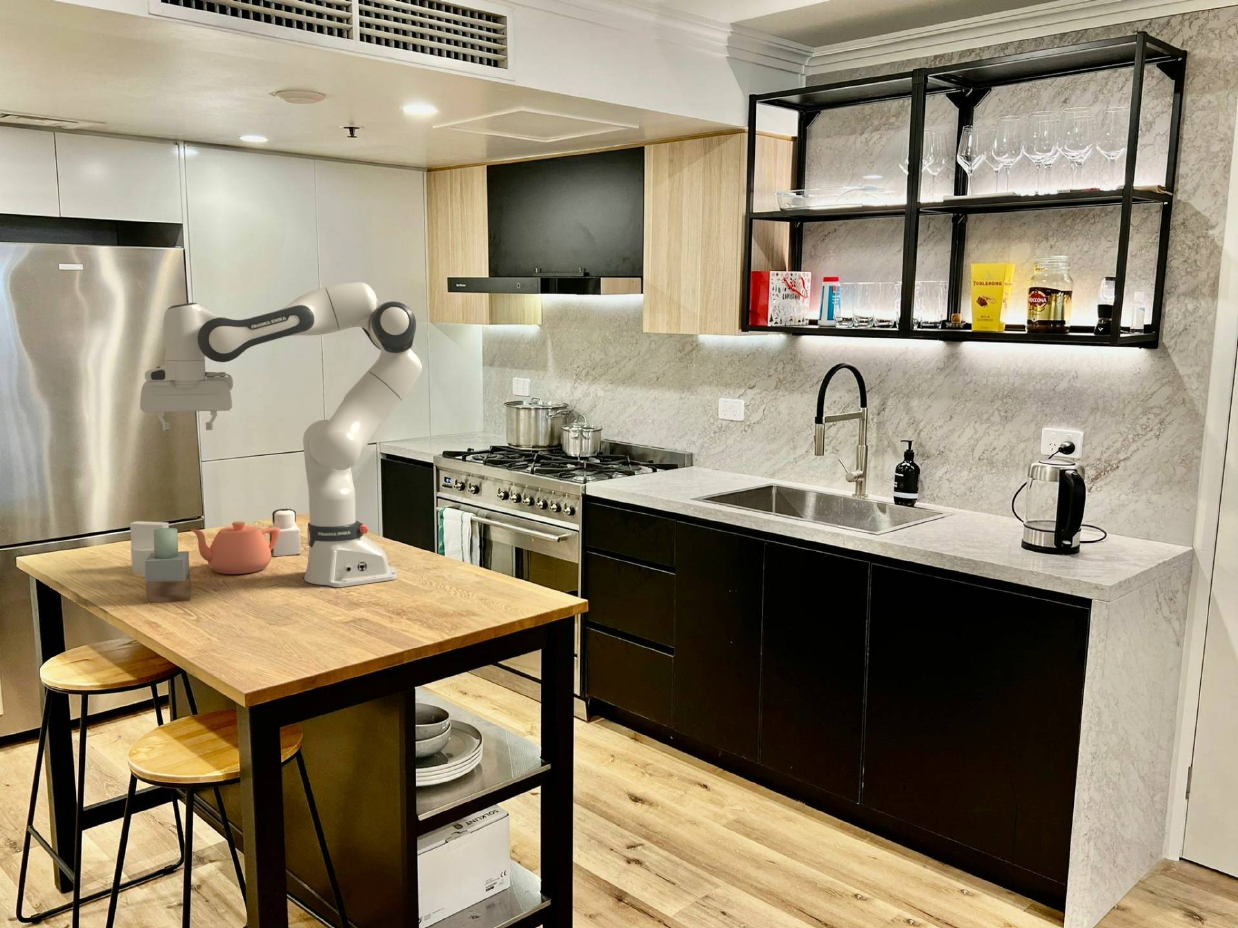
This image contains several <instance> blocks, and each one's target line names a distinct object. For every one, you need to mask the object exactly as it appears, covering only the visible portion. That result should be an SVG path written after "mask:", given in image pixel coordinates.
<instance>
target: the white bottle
mask: <svg viewBox="0 0 1238 928" xmlns="http://www.w3.org/2000/svg"><path fill="white" fill-rule="evenodd" d="M271 515H272V525H270V526H269V527H268V528H271V527H277V528H279V530H280V535H279V538H278V540H277V542H276V544H275V545H274V547H273V549H272V550H271V556H272V557H273V556H278V557H288V556H287V555H290V556H297V555H296V554H300V555H301V554H302V553H301V529H300V528H299V527H298V525H297V517H296V516H297V513H296V511H295V510H294V509H291V508H280V509H275V510H274V511H273V512H272V513H271ZM271 539H272V533H271V532H269V543H270V542H271Z"/></svg>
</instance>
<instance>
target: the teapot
mask: <svg viewBox="0 0 1238 928" xmlns="http://www.w3.org/2000/svg"><path fill="white" fill-rule="evenodd" d="M245 524H246V522H245V521H234V522H232V523H231V526H228V527H224V528H221V529H219V530H218V531H217V533H216V534H215V536H214V538H213V540H212V541H211V543H210V547H209V546H208V545H207V543H206V542H207V541H206V537H205V534H204V532H203V531H202V530H199V529H195V528H189V530H190V531H191V532H193V533H194V534H195V536H196V538H197V543H198V552H199V555H200V556H201V557H202V559H203V560H205V561H207V564H208V565H209V567H210V568H211V569H213V571H215V573H219V574H222V575H223V574H225V575H241V574H248V573H254V572H255V573H256V572H260V571H262V570H264V569H266V568H267V566H268V565H269V564H270V563H271V561H272V553H271V550H272V549H273V547H274V545H275V544H276V542H277V540H278V538H279V535H280V530H279V528H277V527H271V528H269V527H267V528H264V529H262V530H259V529H258V527H256V526H251V525H245ZM270 532H271V533H272V539H271V542H270V541H269V543H268V541H267V540H266V538H265V536H264V534H267V533H268V534H270Z"/></svg>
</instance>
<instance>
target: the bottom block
mask: <svg viewBox="0 0 1238 928" xmlns="http://www.w3.org/2000/svg"><path fill="white" fill-rule="evenodd" d="M191 586H192V585H191V570H189V574H188V575H187V577H186V579H185V580H184V581H172V582H150V583H146V582H145V590H146V604H147V605H152V604H151V603H156V604H166V603H167V604H168V603H178V602H181V603H182V602H190V601H191V596H192V587H191ZM148 603H150V604H148Z"/></svg>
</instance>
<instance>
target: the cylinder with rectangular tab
mask: <svg viewBox="0 0 1238 928" xmlns="http://www.w3.org/2000/svg"><path fill="white" fill-rule="evenodd" d="M169 524H170V523H169V522H164V521H163V522H162V521H160V522H159V521H143V520H141V521H139V520H136V521H133V522H130V523H129V527H130V528H129V529H130V544H131V545H130V546H131V547H130V556H131V571H132V573H133V574H138V575H146V571H145V560H146V559H147V558H148V557H149V555H150V554H151V553H154V530H156V529H162V528H170V527H169V526H170V525H169Z"/></svg>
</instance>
